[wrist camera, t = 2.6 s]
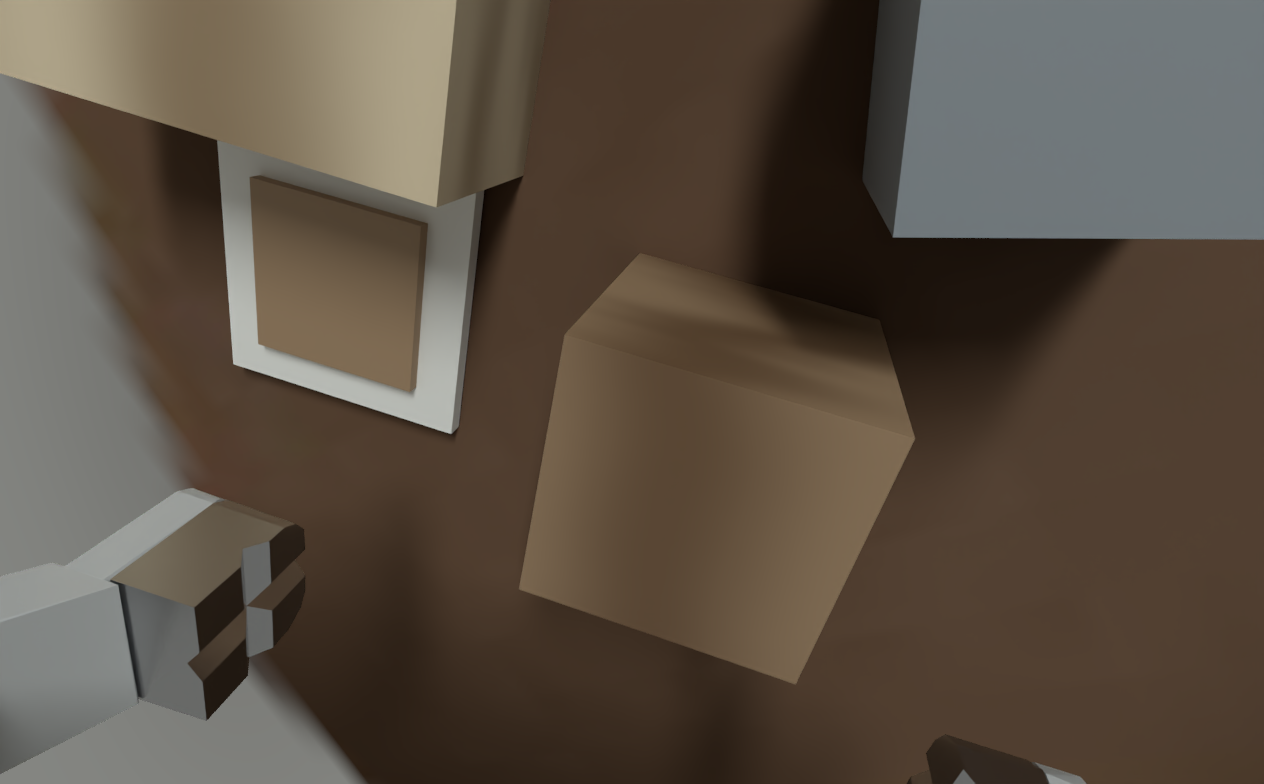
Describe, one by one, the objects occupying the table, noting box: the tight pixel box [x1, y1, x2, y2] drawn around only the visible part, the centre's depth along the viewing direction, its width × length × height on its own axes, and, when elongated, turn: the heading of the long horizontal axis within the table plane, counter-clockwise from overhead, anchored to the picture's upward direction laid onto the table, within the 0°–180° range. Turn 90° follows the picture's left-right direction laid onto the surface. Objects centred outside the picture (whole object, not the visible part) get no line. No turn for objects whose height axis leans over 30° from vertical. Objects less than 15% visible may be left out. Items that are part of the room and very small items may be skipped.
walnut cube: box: [519, 253, 915, 684], centre depth 13 cm, size 5×5×5 cm
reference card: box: [217, 140, 484, 434], centre depth 15 cm, size 6×6×1 cm
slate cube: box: [862, 0, 1264, 239], centre depth 9 cm, size 5×5×5 cm
